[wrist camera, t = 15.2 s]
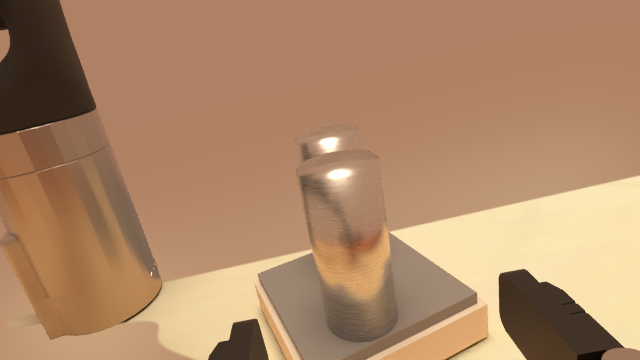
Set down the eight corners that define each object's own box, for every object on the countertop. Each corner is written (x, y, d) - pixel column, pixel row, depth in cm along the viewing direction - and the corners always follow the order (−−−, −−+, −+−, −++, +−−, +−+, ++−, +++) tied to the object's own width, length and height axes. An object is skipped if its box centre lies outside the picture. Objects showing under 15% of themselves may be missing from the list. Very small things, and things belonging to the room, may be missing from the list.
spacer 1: (335, 283, 28) (309, 149, 24) (311, 256, 32) (286, 137, 28) (388, 261, 29) (371, 130, 26) (359, 238, 33) (341, 122, 30)
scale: (319, 427, 21) (308, 382, 20) (261, 307, 32) (251, 273, 31) (494, 332, 25) (493, 290, 24) (391, 253, 36) (387, 221, 35)
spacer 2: (346, 354, 22) (314, 188, 18) (315, 309, 26) (284, 165, 22) (413, 321, 23) (395, 161, 19) (374, 284, 27) (353, 144, 23)
